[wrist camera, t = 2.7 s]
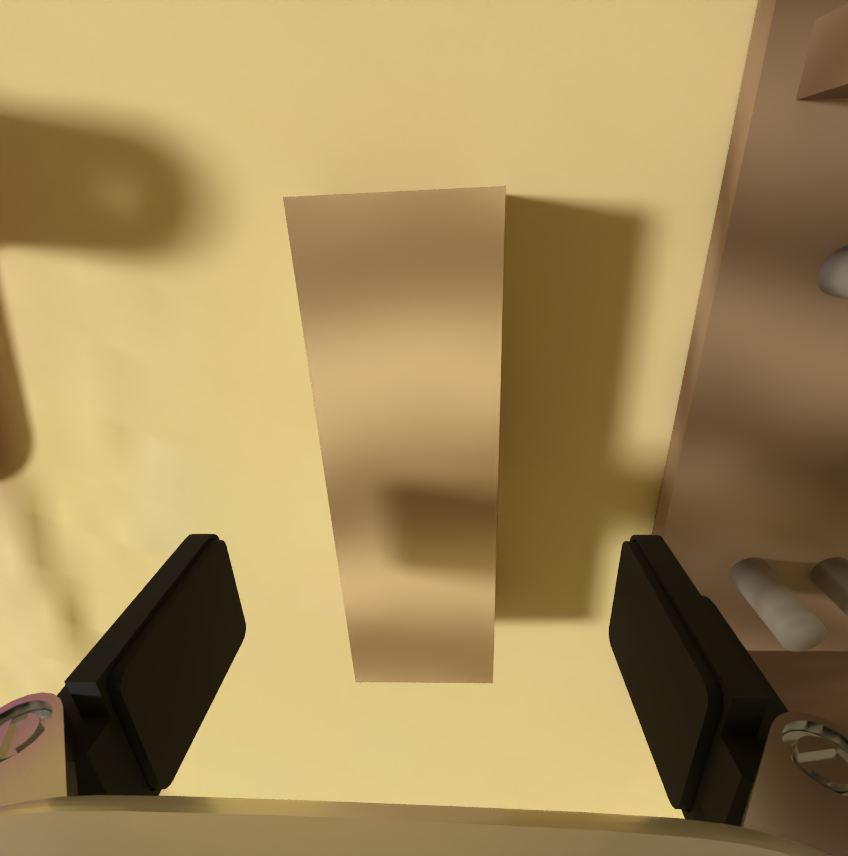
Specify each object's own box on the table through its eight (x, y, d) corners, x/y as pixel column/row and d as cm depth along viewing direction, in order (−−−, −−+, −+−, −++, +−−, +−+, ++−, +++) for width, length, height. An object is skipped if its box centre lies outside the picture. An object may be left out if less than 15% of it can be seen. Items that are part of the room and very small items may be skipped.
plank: (324, 201, 14) (283, 197, 11) (489, 193, 14) (505, 185, 10) (371, 600, 21) (355, 682, 17) (484, 600, 21) (492, 683, 17)
